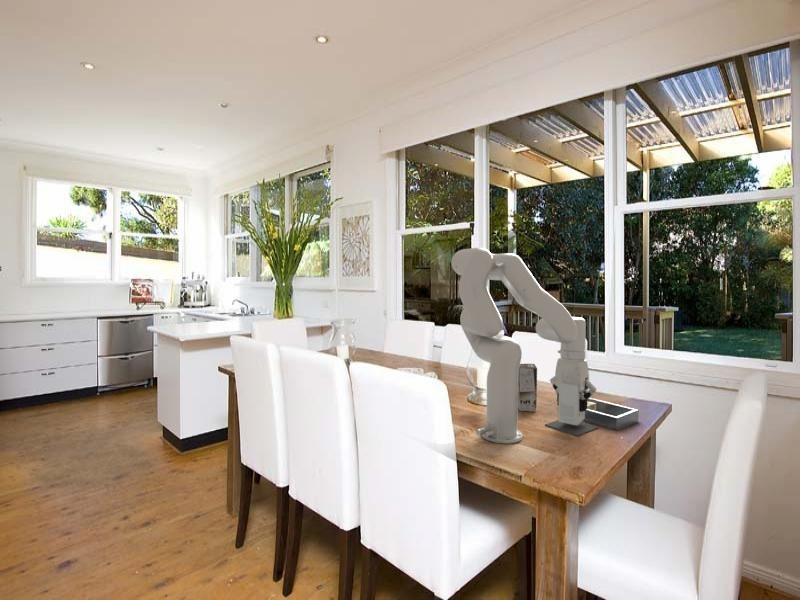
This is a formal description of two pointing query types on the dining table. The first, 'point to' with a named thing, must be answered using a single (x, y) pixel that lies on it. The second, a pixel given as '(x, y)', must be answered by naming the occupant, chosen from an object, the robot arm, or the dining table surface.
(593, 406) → the offcut
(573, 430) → the mat
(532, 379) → the coffee box
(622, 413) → the grey tray
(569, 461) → the dining table surface
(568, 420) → the small box
